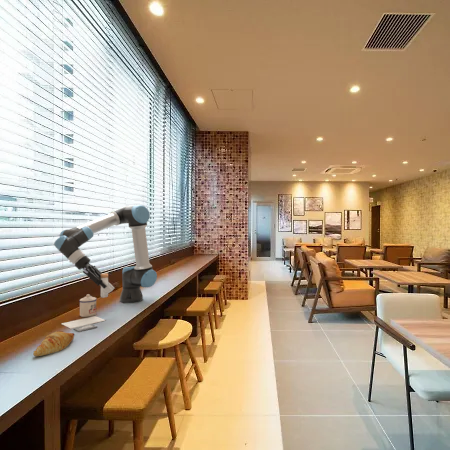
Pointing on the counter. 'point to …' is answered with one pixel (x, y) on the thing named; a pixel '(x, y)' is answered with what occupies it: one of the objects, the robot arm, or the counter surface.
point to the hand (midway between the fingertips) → (111, 290)
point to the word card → (85, 328)
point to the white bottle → (105, 278)
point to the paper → (82, 322)
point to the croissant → (54, 343)
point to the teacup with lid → (88, 306)
